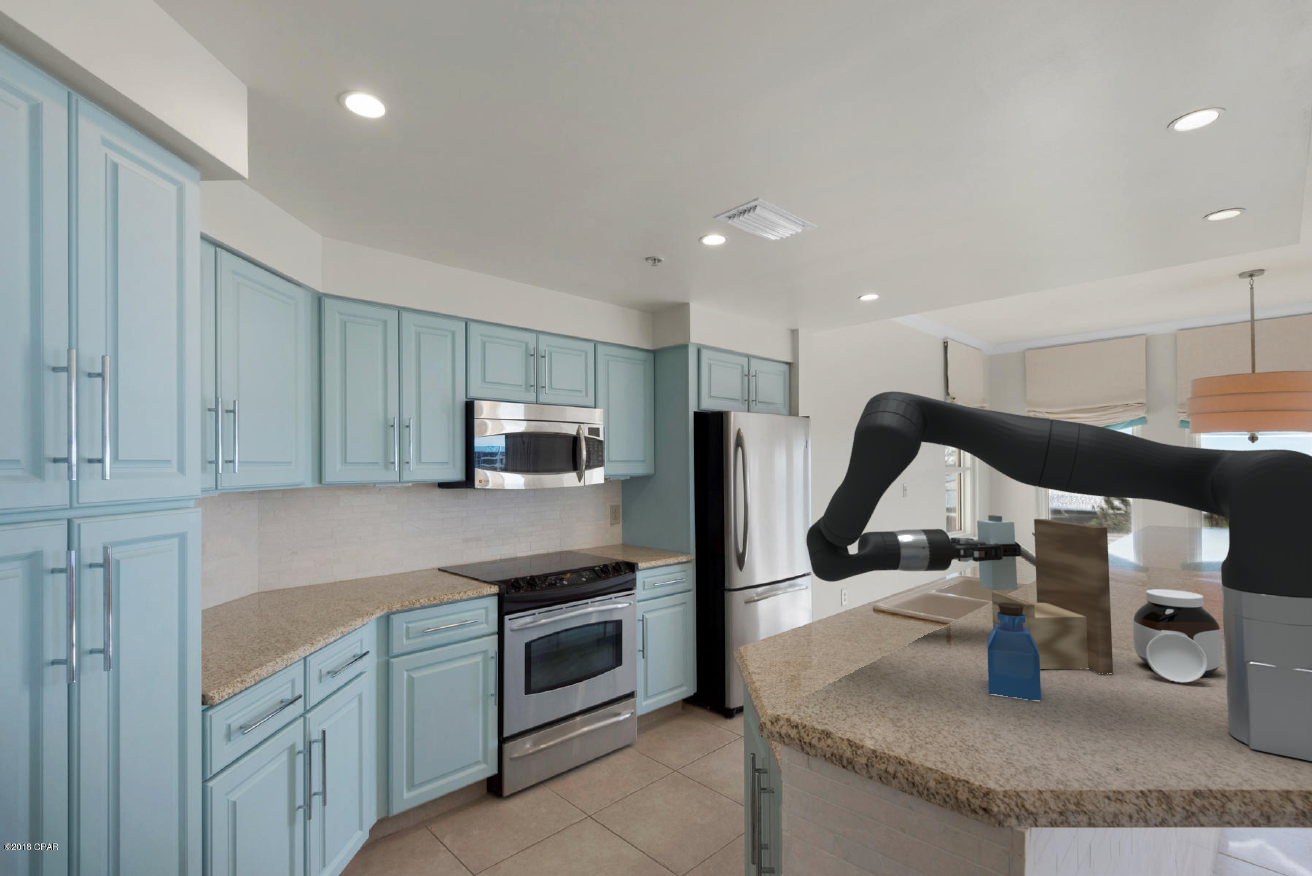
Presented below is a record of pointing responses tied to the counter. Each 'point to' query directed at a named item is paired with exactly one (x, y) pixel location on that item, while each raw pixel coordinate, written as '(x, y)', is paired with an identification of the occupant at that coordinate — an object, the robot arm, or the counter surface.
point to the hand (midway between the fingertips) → (1011, 548)
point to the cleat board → (1069, 597)
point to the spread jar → (1177, 636)
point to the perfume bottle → (1013, 656)
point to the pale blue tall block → (992, 571)
